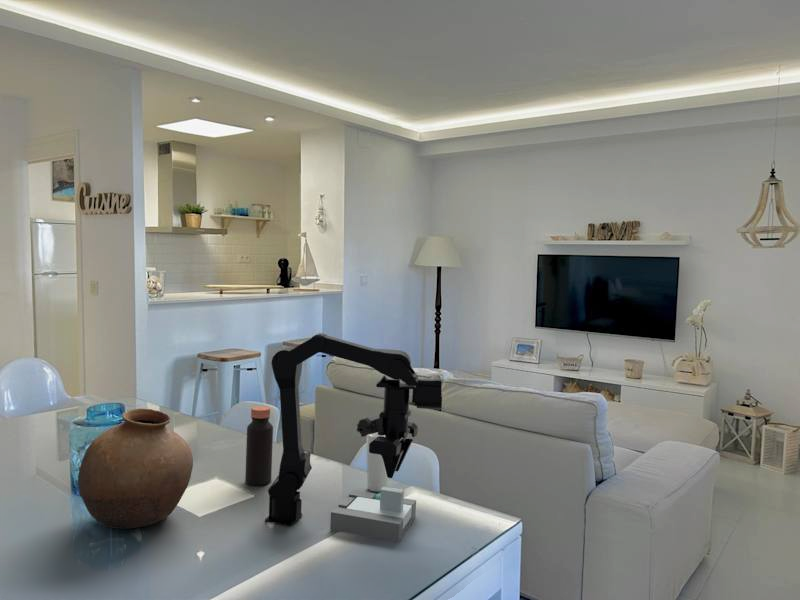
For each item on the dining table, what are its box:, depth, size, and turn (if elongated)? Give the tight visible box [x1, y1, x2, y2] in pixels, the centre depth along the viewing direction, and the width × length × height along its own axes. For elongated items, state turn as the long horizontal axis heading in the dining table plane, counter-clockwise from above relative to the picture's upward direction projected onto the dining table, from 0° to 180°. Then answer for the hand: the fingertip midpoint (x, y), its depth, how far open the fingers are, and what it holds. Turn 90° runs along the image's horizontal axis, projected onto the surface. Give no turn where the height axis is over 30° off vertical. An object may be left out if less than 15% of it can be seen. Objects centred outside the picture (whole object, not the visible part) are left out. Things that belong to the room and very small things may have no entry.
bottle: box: [244, 405, 274, 487], centre depth 158 cm, size 7×7×20 cm
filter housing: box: [329, 489, 417, 543], centre depth 136 cm, size 16×14×4 cm
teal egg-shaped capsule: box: [375, 492, 380, 500], centre depth 142 cm, size 3×3×3 cm
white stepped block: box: [346, 486, 412, 529], centre depth 136 cm, size 14×7×7 cm, turn 74°
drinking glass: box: [365, 432, 389, 493], centre depth 157 cm, size 7×7×15 cm
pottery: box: [77, 408, 194, 530], centre depth 130 cm, size 23×23×25 cm
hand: (392, 474), depth 135 cm, fingers open, 4 cm apart
